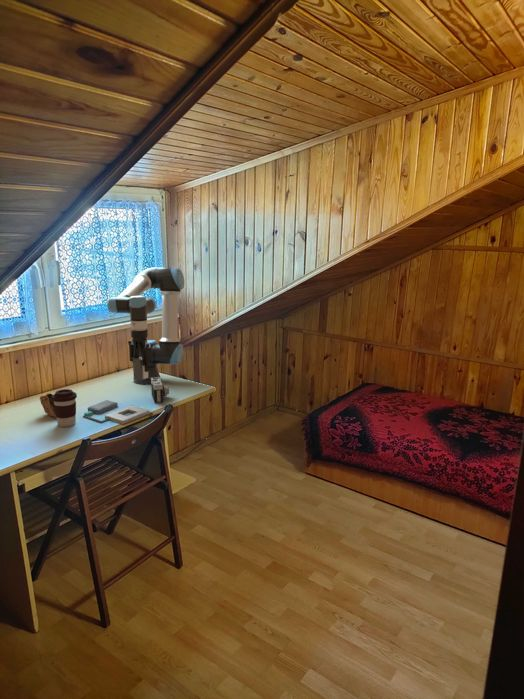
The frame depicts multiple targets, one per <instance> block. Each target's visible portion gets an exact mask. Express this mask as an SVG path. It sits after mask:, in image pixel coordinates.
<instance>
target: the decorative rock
mask: <svg viewBox="0 0 524 699" xmlns="http://www.w3.org/2000/svg"><path fill="white" fill-rule="evenodd" d="M52 395H53V394H52V393H47V394H44V395H40V396H39V401H40V404H41V406H42V408H43V411H44V413H45V414H47V415H48V416H50V417H54V418H55V419H57V417H56V415H55V409H54V401H53V400H52Z"/></svg>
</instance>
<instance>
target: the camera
mask: <svg viewBox="0 0 524 699" xmlns="http://www.w3.org/2000/svg"><path fill="white" fill-rule="evenodd" d="M150 386H151V388H150V389H151V390H150V391H151V392H150V393H151V396H152V400H153V402H154V404H163V403H164V398H165V397H167V396H168V395H169V394H170V390H169V389H170V388H169V386H167V385H163V383H162V381H161V378H160V379H159V377H153V378H151V384H150Z"/></svg>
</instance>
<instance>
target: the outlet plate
mask: <svg viewBox="0 0 524 699" xmlns="http://www.w3.org/2000/svg"><path fill="white" fill-rule="evenodd" d="M149 414H151V410H149V409H148V408H147V409H146V408H143V407H140V406H136V405H133V404H131V405H130V406H127V407H124V408H121V409H118V410H116V411H112V412H109V413H106V414H104V418H105V419H108V418H110V420H109V421H113V422H116V423H119V424H122V425H124V424H127V423H129V422H132V421H134V420H136V419H139V418H140V419H141V418H142V417H144V416H147V415H149Z"/></svg>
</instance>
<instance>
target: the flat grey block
mask: <svg viewBox="0 0 524 699" xmlns="http://www.w3.org/2000/svg"><path fill="white" fill-rule="evenodd" d="M117 407H119V406H118V402H116V401H113V400H104V401H101V402H98V403H96V404H93V405H90V406H88V407H87V412H89V411H91V412H93V414H96V415H100V414H103V413H106V412H108V411H111V410H113V409H115V408H117Z"/></svg>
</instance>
